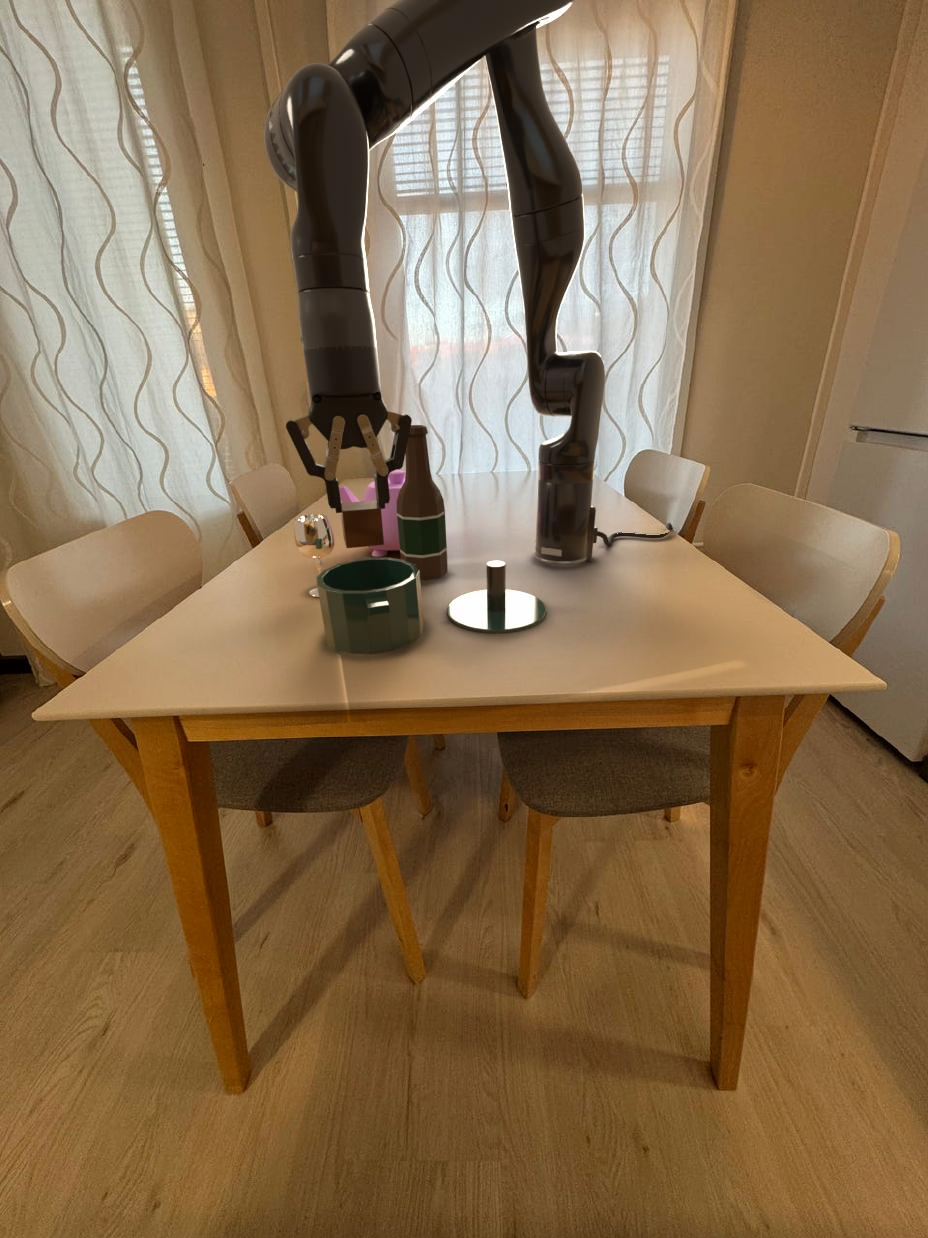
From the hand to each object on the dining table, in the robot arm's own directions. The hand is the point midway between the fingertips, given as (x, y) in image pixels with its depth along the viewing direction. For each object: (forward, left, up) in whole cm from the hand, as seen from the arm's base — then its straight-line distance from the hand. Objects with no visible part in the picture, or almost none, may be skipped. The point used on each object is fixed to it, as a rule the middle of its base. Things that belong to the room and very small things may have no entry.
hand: (360, 508), depth 59 cm
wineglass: (+6, -18, -17) cm, 25 cm away
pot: (0, 0, -17) cm, 17 cm away
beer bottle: (-11, -19, -17) cm, 28 cm away
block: (0, 0, -4) cm, 4 cm away
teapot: (-9, -38, -17) cm, 43 cm away
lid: (-17, 0, -16) cm, 23 cm away
